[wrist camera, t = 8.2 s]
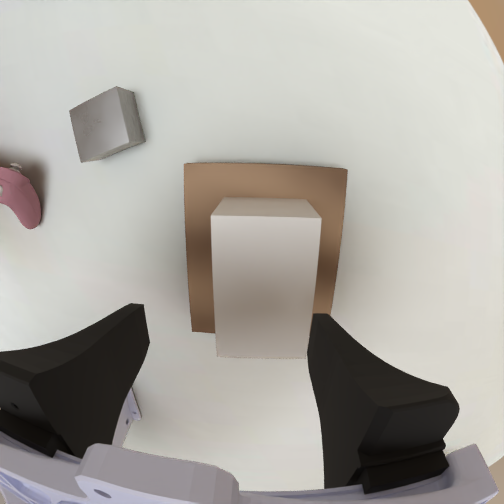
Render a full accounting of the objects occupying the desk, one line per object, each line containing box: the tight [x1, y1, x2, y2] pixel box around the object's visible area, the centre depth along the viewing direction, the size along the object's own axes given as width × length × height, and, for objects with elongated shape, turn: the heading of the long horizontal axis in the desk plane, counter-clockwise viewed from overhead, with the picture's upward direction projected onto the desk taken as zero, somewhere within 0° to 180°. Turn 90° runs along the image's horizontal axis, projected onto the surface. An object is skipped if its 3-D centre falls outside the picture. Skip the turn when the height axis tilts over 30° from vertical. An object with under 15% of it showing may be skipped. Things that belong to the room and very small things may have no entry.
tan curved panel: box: [184, 163, 348, 336], centre depth 21 cm, size 12×10×2 cm
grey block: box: [69, 86, 146, 163], centre depth 18 cm, size 4×4×3 cm
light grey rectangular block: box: [211, 197, 322, 359], centre depth 17 cm, size 5×8×5 cm, turn 179°
